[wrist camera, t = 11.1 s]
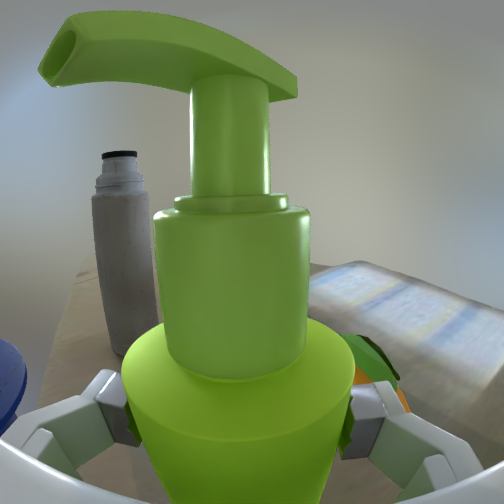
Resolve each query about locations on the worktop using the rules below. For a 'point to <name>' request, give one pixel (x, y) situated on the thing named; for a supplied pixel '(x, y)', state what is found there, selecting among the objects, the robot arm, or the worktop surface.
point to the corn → (373, 365)
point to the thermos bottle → (124, 250)
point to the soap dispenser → (221, 276)
